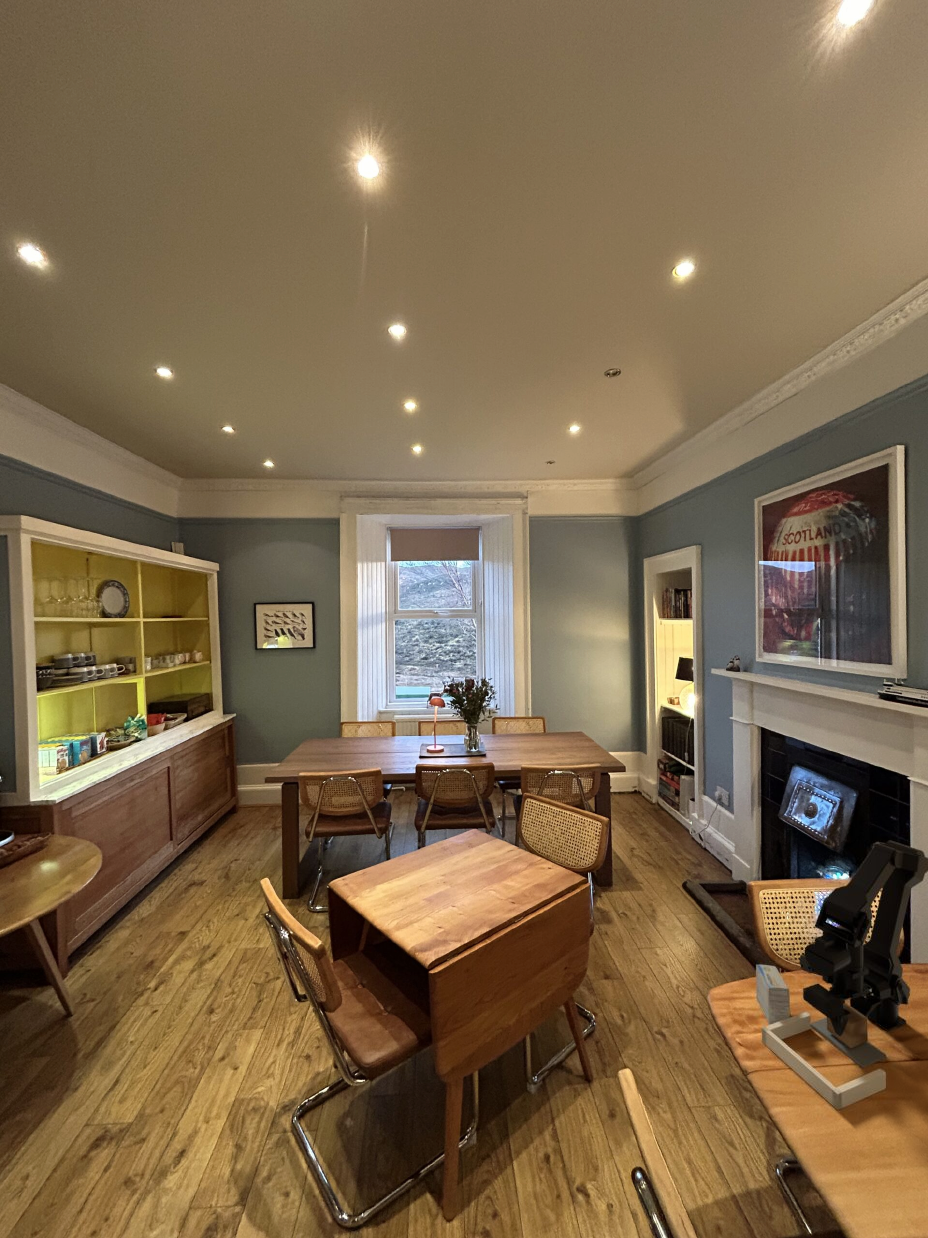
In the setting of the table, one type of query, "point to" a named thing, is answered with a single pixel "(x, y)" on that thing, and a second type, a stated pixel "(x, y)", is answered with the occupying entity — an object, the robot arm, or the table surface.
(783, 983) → the medicine box
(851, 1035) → the walnut block
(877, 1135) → the table surface
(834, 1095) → the white u-shaped frame
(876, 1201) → the table surface
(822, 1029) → the slate coaster
